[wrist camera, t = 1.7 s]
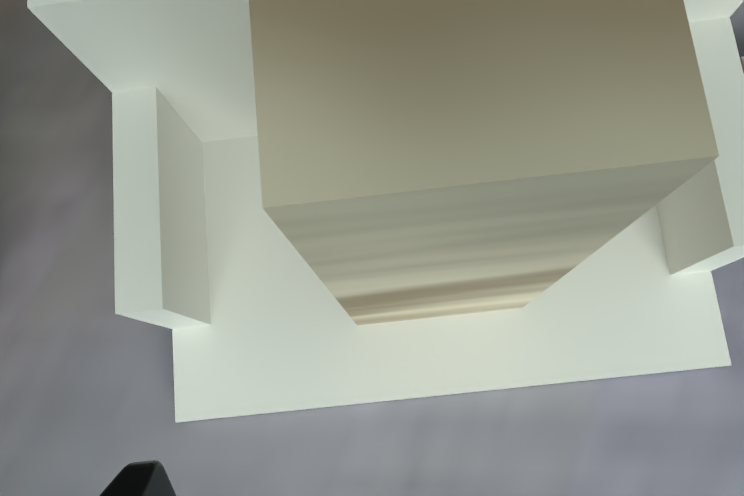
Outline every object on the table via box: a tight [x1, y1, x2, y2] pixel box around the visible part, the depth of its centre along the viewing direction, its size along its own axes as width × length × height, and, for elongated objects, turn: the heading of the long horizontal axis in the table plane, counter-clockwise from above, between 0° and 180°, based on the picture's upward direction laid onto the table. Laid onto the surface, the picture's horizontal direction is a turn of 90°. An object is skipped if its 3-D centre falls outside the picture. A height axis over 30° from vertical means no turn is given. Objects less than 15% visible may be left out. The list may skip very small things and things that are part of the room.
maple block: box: [249, 0, 719, 326], centre depth 14 cm, size 5×5×13 cm
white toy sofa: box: [27, 0, 744, 423], centre depth 17 cm, size 10×16×9 cm, turn 96°
